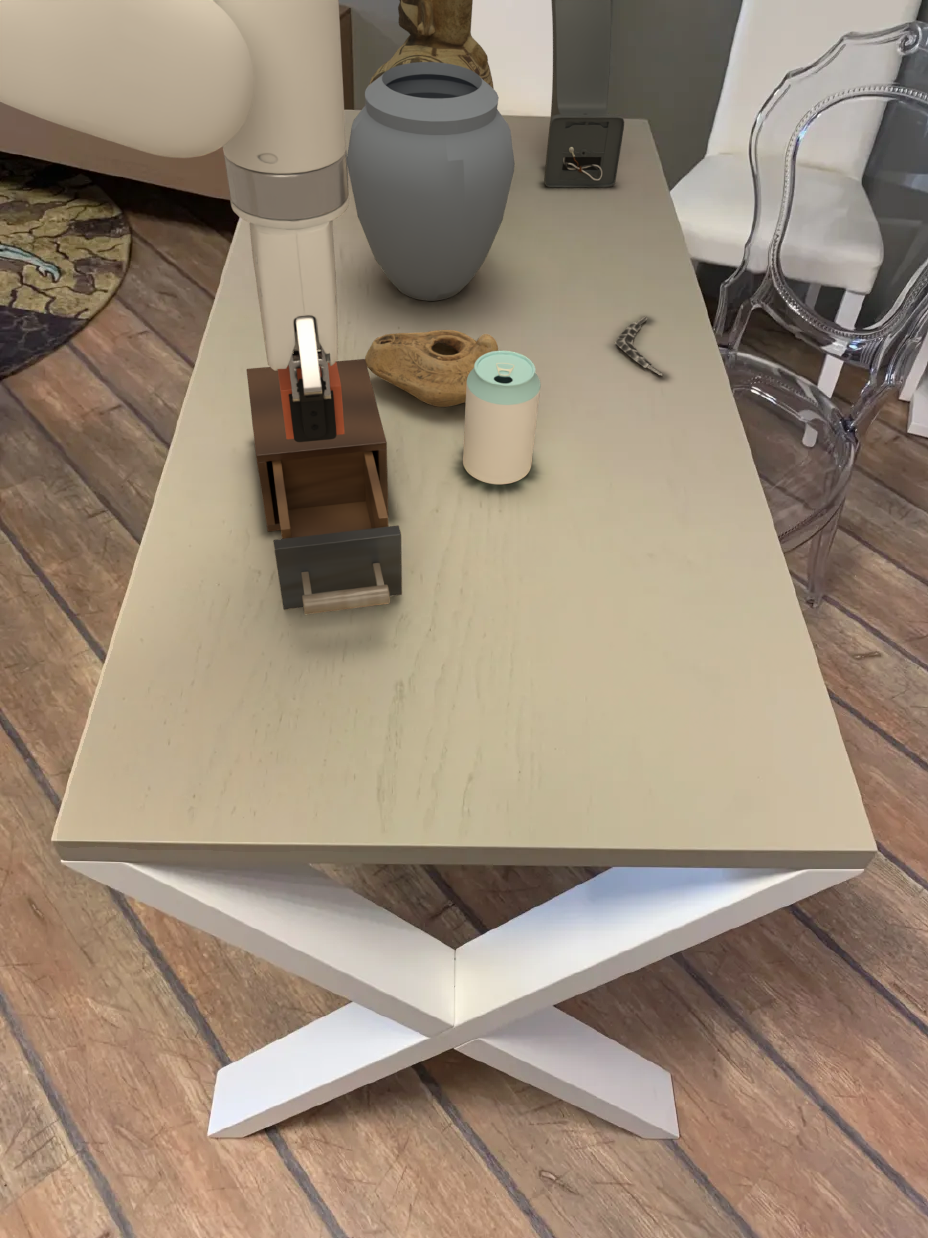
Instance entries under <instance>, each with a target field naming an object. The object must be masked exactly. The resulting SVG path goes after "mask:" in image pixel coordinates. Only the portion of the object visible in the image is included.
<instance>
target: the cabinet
mask: <svg viewBox="0 0 928 1238" xmlns="http://www.w3.org/2000/svg"><path fill="white" fill-rule="evenodd" d="M336 362H337V367H338V372H339V377H340V382H341V390H342V404H343V419H344V434H341V435H337V436H336V437H335V438H334V439H329V440H319V441H308V442H296V441H295V440H294V439H286V431H285V423H284V415H283V407H282V399H281V391H280V383H279V375H278V371H275V370H273V369H272V368H271V367H270V366H264V367H263V366H262V367H252V368H246V378H247V388H248V396H249V405H250V414H251V415H250V416H251V423H252V431H253V432H252V433H253V442H254V449H255V458H256V465H257V471H258V477H259V484H260V489H261V490H260V491H261V497H262V503H263V510H264V515H265V520H266V521H265V523H266V530H267V532H276V531H281V528H280V520H279V512H278V504H277V496H276V488H275V481H274V473H273V465H272V461H275V460H285V459H295V458H305V457H315V456H325V455H335V454H345V453H354V452H364V451H372V453H373V457H374V461H375V465H376V469H377V474H378V478H379V482H380V486H381V490H382V494H383V498H384V503H385V507H386V511H387V515H388V518H389V517H390V516H389V515H390V514H389V485H388V484H389V480H388V479H389V478H388V477H389V475H388V449H387V448H388V442H387V438H386V435H385V430H384V426H383V423H382V419H381V414H380V411H379V408H378V404H377V400H376V396H375V392H374V389H373V384H372V380H371V377H370V373H369V368H368V367H367V365H366V361H365V358H359V359H347V360H346V359H345V360H337V361H336Z"/></svg>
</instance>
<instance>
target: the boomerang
mask: <svg viewBox="0 0 928 1238" xmlns="http://www.w3.org/2000/svg"><path fill="white" fill-rule="evenodd" d="M647 320H648V317H647V316H643V317H642V318H641V319H639V320H638V321H636V322H634V321H632V322H631V323H630V324H628V326H627V327H626V328H625V329H623V331H622V332H621V333H620V334H619V336H618V337H617V338H616V340H615V341H614V344H615V345H616V346H618V347H619V348H620V349H621V350H622V351H623V352H624V354H626V355H627V356H629V357H630V358H631V359H632V360H633V361H635V362H636V363H638V364H639V366H641V367H643V368H645V369H646V368H647V369H649V370H650V371H652V372H654V373H656V374H657V375H659V376H660V377H663V376H664V372H663V373H662V372H661V371H660V370H659V369H657V368H656V367H654V366H653V365H652V363H651V361H649V360H648V359H647V358H645V357H644V355H643V354H642V353H640V352H639V350H637V348H636V347H635V345H634V339H635V338H636V336H637V334H638V331H639V330H640V329H641V328H642V326H641V325H643V324H644V323H645V322H646V321H647Z"/></svg>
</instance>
